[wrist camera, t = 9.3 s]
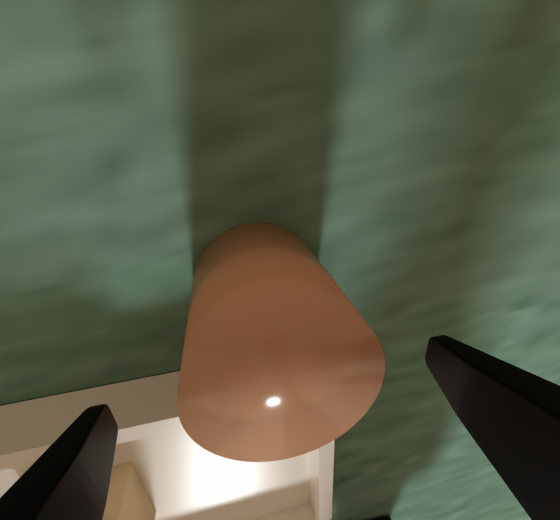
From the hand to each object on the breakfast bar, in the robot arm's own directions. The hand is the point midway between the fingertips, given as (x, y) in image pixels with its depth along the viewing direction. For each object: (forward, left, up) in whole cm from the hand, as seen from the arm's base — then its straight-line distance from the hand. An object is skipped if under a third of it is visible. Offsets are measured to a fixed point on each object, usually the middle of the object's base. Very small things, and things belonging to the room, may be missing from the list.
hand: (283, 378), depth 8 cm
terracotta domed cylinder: (0, 0, -5) cm, 5 cm away
